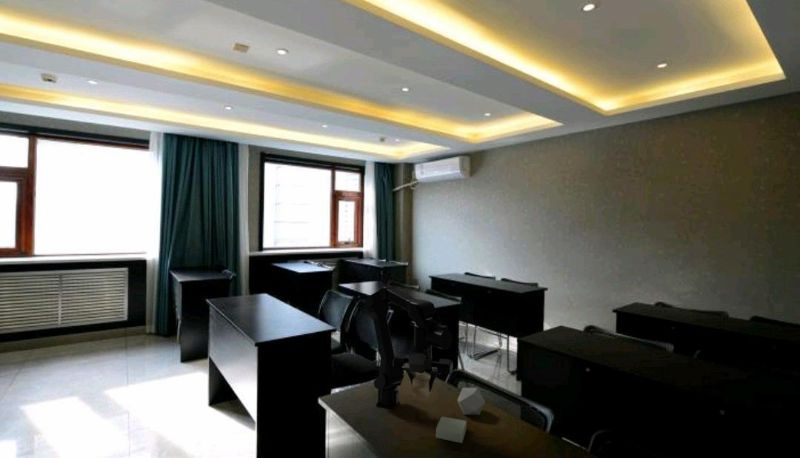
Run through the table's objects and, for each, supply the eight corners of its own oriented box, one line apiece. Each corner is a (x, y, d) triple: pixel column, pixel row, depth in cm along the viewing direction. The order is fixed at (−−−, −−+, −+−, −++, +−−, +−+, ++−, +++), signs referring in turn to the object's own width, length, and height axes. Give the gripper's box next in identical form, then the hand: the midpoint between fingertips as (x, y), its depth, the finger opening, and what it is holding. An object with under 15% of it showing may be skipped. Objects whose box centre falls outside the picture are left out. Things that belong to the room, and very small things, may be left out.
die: (478, 424, 123) (492, 396, 126) (454, 408, 124) (469, 380, 127) (472, 420, 131) (486, 394, 134) (450, 405, 132) (464, 379, 135)
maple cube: (412, 395, 119) (412, 379, 119) (416, 388, 124) (416, 373, 124) (427, 397, 117) (427, 381, 117) (431, 391, 122) (431, 375, 122)
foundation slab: (435, 438, 114) (435, 429, 114) (441, 425, 121) (441, 416, 121) (462, 444, 111) (462, 434, 111) (466, 430, 119) (466, 420, 119)
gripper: (386, 345, 116) (386, 396, 116) (446, 352, 110) (445, 406, 110) (398, 335, 126) (397, 382, 126) (453, 341, 120) (452, 390, 121)
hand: (422, 390), depth 121 cm, fingers closed on maple cube, 5 cm apart
